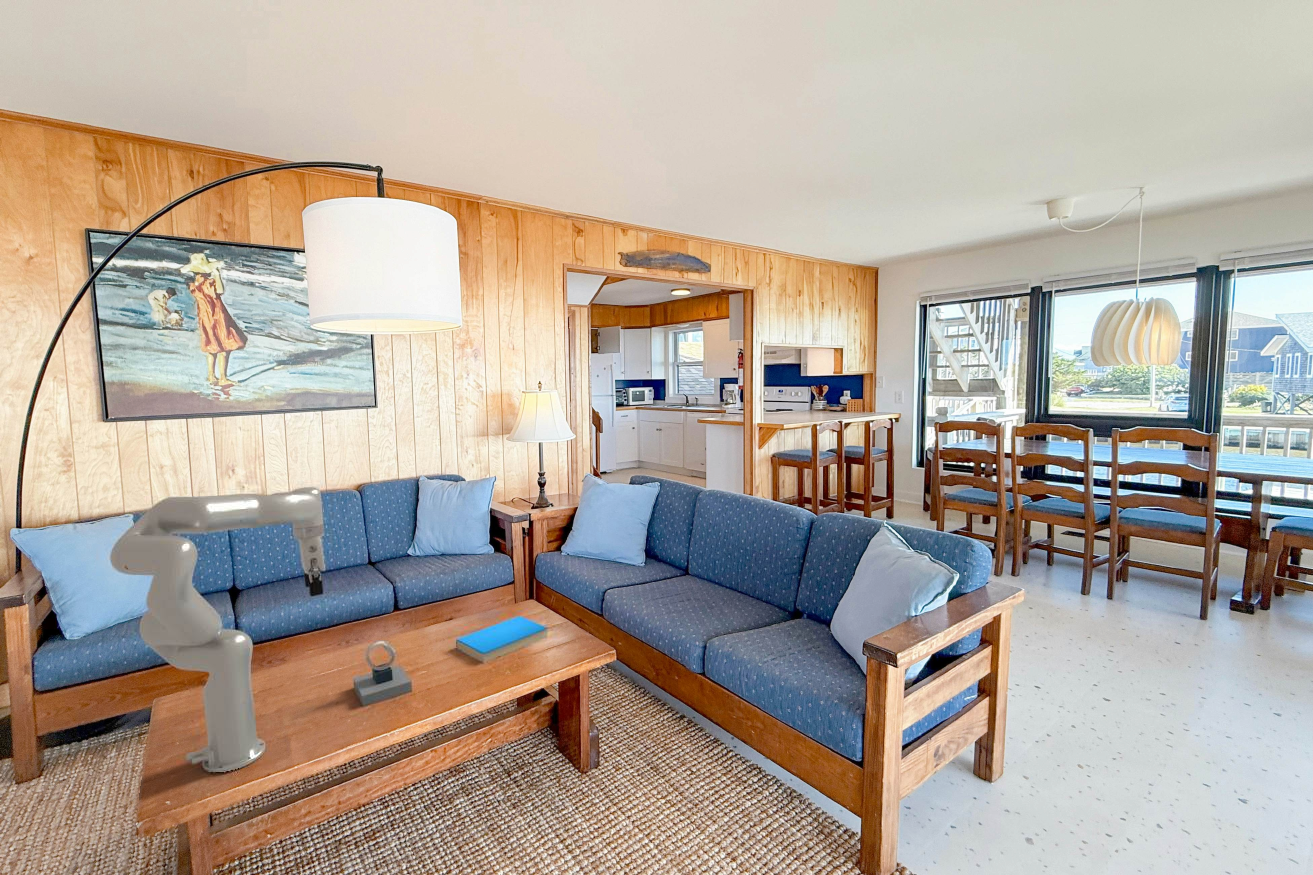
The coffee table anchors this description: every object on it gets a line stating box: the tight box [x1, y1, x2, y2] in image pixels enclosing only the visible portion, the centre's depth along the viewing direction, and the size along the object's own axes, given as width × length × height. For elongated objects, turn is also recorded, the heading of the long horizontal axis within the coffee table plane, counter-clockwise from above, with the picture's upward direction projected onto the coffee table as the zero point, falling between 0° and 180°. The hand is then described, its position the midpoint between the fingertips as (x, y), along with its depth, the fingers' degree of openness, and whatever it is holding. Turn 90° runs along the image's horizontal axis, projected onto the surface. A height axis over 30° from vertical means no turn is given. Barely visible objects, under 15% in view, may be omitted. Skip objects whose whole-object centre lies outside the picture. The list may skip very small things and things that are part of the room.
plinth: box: [352, 664, 413, 707], centre depth 180 cm, size 13×13×3 cm
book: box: [455, 615, 548, 664], centre depth 210 cm, size 17×4×25 cm
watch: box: [365, 640, 397, 685], centre depth 180 cm, size 6×8×11 cm
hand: (314, 590), depth 177 cm, fingers open, 9 cm apart
